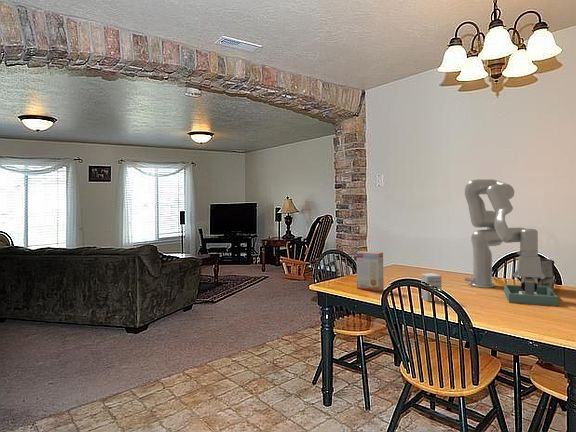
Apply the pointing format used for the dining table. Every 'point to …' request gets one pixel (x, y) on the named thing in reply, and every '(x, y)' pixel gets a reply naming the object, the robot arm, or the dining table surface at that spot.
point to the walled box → (540, 296)
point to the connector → (529, 285)
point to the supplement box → (433, 281)
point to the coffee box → (547, 274)
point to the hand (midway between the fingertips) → (528, 290)
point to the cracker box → (370, 271)
